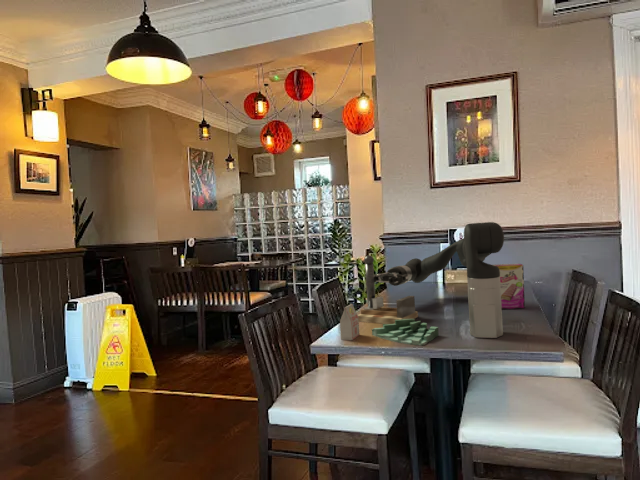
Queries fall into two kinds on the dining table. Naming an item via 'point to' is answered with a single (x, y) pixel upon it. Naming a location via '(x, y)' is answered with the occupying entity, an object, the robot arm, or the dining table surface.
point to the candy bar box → (512, 285)
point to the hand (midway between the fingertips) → (379, 280)
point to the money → (407, 332)
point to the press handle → (371, 286)
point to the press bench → (391, 312)
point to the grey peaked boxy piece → (349, 323)
